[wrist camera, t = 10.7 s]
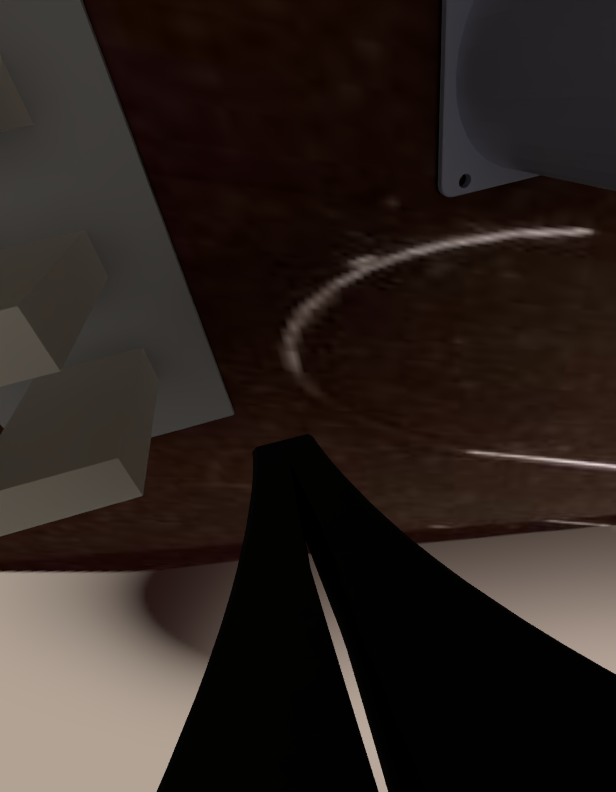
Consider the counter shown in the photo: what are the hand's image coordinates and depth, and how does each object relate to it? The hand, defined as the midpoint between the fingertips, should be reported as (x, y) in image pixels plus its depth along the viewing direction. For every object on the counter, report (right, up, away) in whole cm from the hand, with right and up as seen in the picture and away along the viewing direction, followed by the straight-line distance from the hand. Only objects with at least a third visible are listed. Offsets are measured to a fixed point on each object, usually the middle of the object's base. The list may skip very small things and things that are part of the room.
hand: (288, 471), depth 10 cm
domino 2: (-9, +3, +8) cm, 12 cm away
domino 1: (-10, +7, +5) cm, 13 cm away
